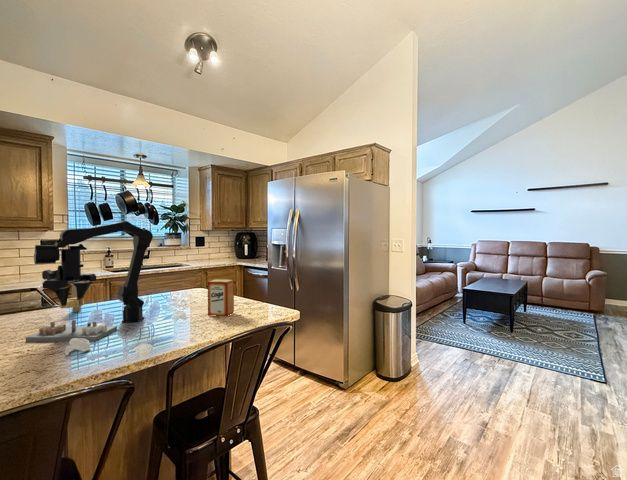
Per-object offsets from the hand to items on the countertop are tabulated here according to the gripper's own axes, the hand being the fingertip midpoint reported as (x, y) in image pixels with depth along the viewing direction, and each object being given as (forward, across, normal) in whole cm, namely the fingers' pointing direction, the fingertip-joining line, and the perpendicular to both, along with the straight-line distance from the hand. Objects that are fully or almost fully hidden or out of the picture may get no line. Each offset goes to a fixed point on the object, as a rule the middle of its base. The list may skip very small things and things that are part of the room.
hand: (71, 303), depth 116 cm
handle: (+11, -30, -23) cm, 40 cm away
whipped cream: (+11, +18, +16) cm, 27 cm away
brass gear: (+1, 0, 0) cm, 1 cm away
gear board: (+11, +4, +4) cm, 12 cm away
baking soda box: (+11, -26, +48) cm, 56 cm away
